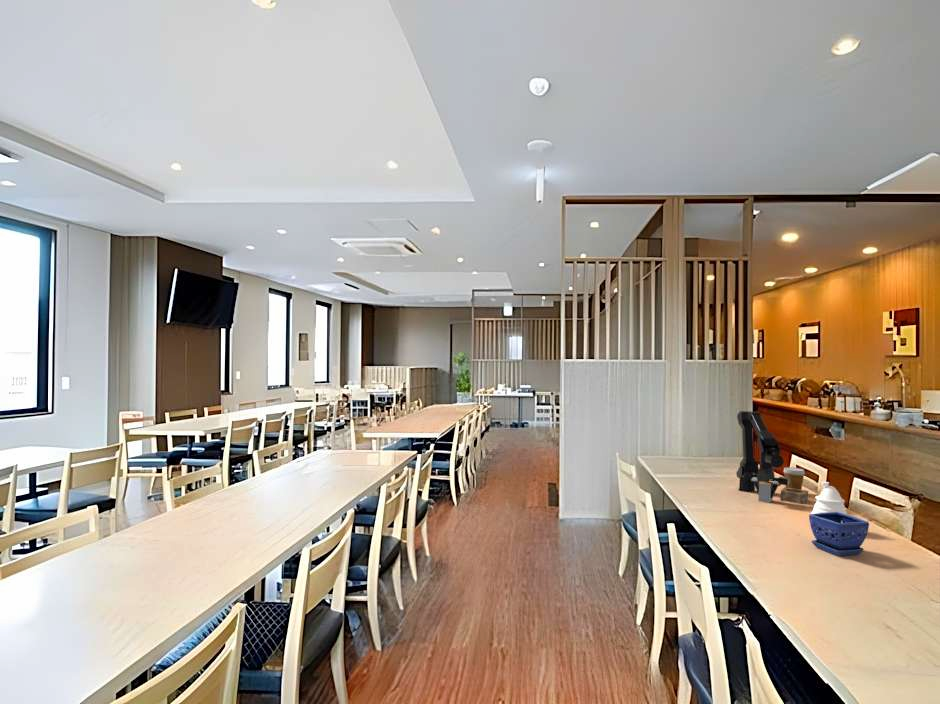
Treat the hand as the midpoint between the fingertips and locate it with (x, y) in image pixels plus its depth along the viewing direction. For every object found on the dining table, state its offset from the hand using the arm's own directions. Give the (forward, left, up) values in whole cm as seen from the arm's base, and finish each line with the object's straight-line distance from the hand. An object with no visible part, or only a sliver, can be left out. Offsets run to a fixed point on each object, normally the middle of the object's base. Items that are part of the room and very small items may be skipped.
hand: (765, 496), depth 277 cm
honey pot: (+29, -29, -2) cm, 41 cm away
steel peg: (0, 0, -2) cm, 2 cm away
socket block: (+10, +12, -2) cm, 16 cm away
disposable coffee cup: (+7, +28, -2) cm, 29 cm away
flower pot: (+35, -60, -2) cm, 70 cm away
